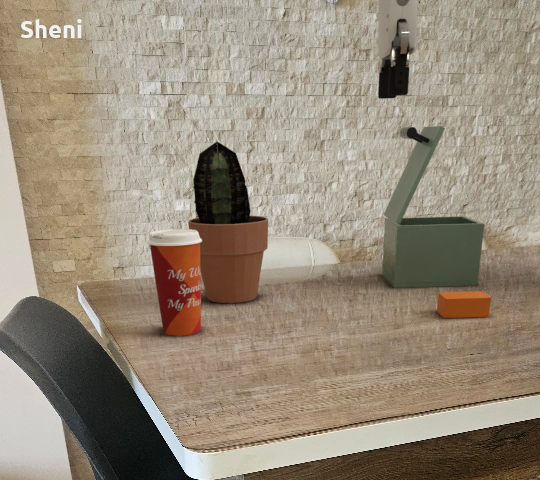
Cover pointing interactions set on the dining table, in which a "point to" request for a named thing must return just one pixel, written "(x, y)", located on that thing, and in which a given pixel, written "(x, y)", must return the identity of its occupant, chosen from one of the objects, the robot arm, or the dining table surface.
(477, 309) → the block
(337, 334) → the dining table surface
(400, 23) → the robot arm
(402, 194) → the bin lid
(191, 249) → the paper cup
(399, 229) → the waste bin
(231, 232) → the potted plant
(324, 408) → the dining table surface
